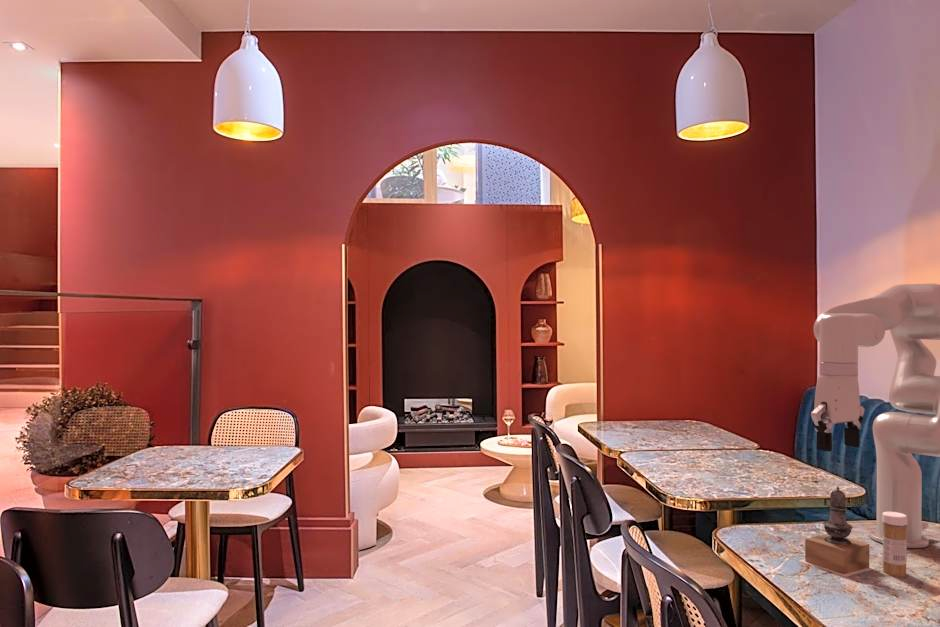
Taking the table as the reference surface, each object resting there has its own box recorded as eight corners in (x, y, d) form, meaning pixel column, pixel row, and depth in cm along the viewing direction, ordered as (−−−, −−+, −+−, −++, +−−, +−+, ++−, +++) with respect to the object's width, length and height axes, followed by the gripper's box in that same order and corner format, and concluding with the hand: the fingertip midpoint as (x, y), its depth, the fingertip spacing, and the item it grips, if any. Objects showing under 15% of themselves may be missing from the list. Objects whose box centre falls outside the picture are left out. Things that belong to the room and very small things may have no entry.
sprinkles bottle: (905, 575, 151) (905, 512, 151) (908, 582, 147) (908, 517, 147) (880, 571, 153) (881, 509, 153) (883, 579, 149) (883, 515, 149)
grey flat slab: (831, 555, 164) (831, 551, 164) (882, 571, 153) (882, 567, 153) (785, 566, 156) (785, 562, 156) (836, 584, 146) (837, 580, 146)
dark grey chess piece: (856, 546, 152) (857, 490, 152) (827, 544, 153) (827, 488, 153) (847, 538, 158) (848, 484, 158) (819, 536, 159) (819, 482, 159)
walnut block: (830, 554, 161) (830, 532, 161) (869, 567, 153) (869, 544, 153) (805, 561, 157) (805, 538, 157) (843, 574, 149) (843, 550, 149)
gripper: (846, 367, 163) (846, 442, 163) (797, 370, 155) (797, 449, 155) (878, 370, 156) (878, 447, 157) (829, 373, 148) (829, 455, 148)
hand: (838, 448), depth 156 cm, fingers open, 9 cm apart
